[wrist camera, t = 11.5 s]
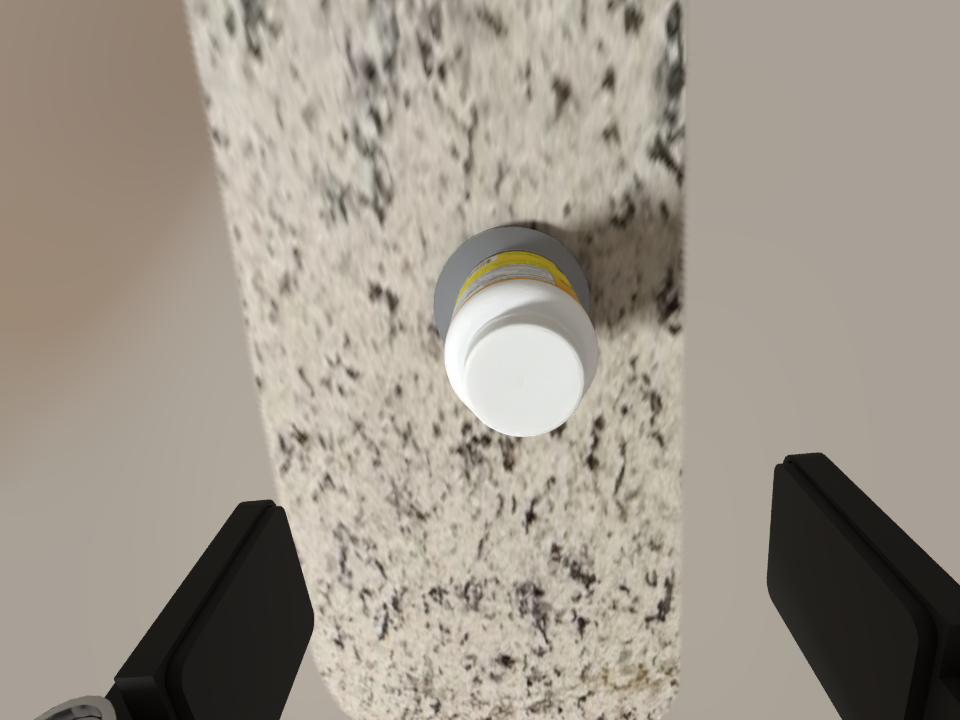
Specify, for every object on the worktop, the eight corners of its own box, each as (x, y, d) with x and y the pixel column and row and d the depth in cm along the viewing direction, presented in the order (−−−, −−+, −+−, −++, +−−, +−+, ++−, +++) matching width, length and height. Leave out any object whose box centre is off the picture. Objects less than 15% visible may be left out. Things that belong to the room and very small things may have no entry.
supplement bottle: (565, 361, 29) (597, 467, 19) (455, 353, 29) (432, 453, 19) (580, 250, 27) (624, 306, 17) (462, 241, 27) (441, 291, 18)
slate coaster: (424, 235, 28) (422, 238, 27) (583, 217, 27) (585, 219, 27) (446, 380, 30) (445, 386, 30) (591, 366, 30) (594, 372, 29)
